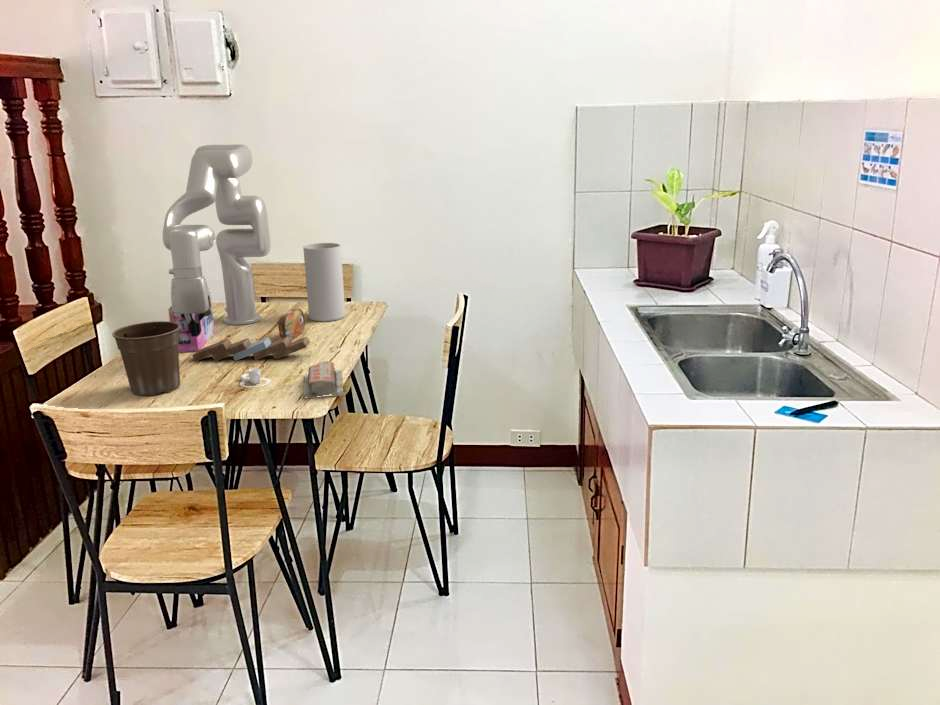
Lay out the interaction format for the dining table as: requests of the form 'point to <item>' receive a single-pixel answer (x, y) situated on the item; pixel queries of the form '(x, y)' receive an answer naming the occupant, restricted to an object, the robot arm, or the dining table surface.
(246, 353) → the domino
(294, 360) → the dining table surface
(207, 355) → the domino
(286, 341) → the domino
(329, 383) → the packaged product
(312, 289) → the cylinder vase
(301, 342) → the domino
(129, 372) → the plant pot
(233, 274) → the robot arm
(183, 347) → the gum box
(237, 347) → the domino
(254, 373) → the teacup and saucer
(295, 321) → the tin
